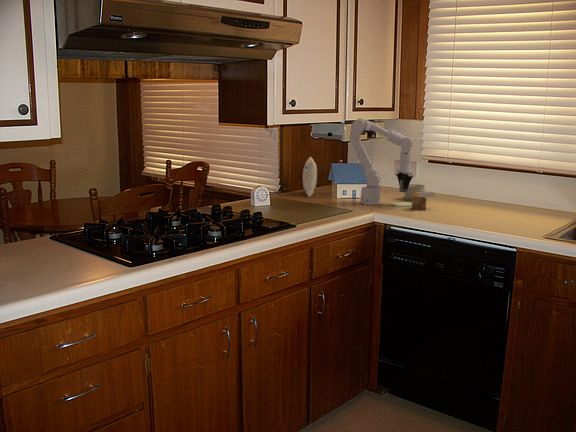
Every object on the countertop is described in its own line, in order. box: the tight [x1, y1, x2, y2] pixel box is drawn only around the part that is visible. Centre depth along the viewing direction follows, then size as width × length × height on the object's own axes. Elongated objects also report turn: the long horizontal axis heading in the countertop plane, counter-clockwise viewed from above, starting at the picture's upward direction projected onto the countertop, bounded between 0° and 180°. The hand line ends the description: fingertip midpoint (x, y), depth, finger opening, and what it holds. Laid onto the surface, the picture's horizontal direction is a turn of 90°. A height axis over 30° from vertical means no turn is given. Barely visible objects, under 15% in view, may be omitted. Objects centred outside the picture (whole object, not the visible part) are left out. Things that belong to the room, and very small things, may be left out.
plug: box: [398, 179, 408, 193], centre depth 299 cm, size 4×4×6 cm
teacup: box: [403, 183, 426, 202], centre depth 318 cm, size 14×11×8 cm
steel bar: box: [414, 191, 436, 198], centre depth 292 cm, size 10×3×2 cm, turn 105°
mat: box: [390, 201, 412, 208], centre depth 302 cm, size 10×8×1 cm
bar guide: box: [411, 196, 428, 211], centre depth 292 cm, size 5×5×6 cm
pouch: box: [302, 155, 318, 198], centre depth 325 cm, size 8×19×20 cm, turn 176°
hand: (403, 188), depth 299 cm, fingers closed on plug, 4 cm apart
